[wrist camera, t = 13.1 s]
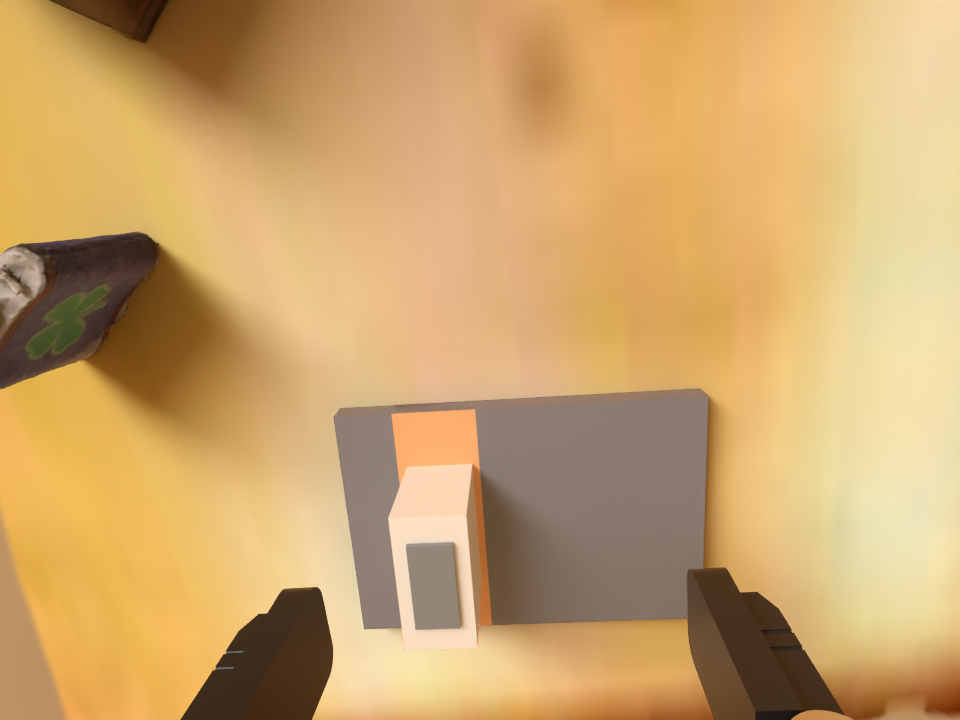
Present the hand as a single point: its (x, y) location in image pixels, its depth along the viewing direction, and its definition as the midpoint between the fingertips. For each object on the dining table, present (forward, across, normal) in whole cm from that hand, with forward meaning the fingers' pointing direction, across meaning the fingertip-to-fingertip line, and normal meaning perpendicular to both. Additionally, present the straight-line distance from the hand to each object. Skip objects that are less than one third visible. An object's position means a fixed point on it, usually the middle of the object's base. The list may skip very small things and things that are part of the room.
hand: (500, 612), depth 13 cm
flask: (+23, +24, -6) cm, 33 cm away
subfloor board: (+23, 0, +11) cm, 25 cm away
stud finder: (+21, +5, +10) cm, 24 cm away
